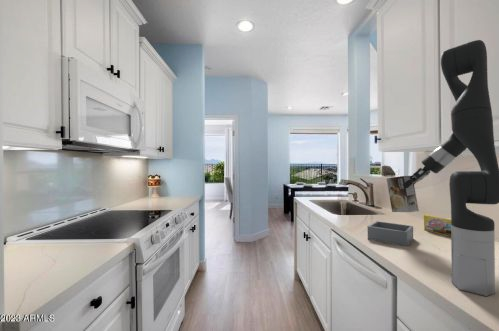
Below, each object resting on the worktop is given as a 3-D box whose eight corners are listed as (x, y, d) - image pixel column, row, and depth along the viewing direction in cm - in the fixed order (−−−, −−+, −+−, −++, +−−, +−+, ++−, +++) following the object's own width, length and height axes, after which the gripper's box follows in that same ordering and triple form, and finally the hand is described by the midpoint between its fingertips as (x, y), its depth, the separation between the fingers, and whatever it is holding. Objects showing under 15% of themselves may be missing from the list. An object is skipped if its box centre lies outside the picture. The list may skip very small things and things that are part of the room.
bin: (407, 246, 105) (407, 232, 105) (367, 238, 116) (367, 226, 116) (413, 238, 116) (413, 226, 116) (376, 232, 127) (376, 221, 127)
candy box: (423, 230, 130) (423, 214, 130) (426, 229, 131) (426, 214, 131) (458, 238, 115) (458, 221, 115) (461, 238, 116) (461, 220, 116)
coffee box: (419, 211, 109) (413, 175, 111) (410, 212, 107) (404, 175, 109) (400, 210, 118) (394, 177, 120) (391, 212, 115) (385, 178, 117)
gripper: (432, 154, 110) (403, 179, 118) (427, 153, 100) (395, 181, 108) (448, 165, 107) (416, 191, 115) (444, 166, 96) (409, 194, 104)
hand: (406, 186), depth 111 cm, fingers closed on coffee box, 7 cm apart
